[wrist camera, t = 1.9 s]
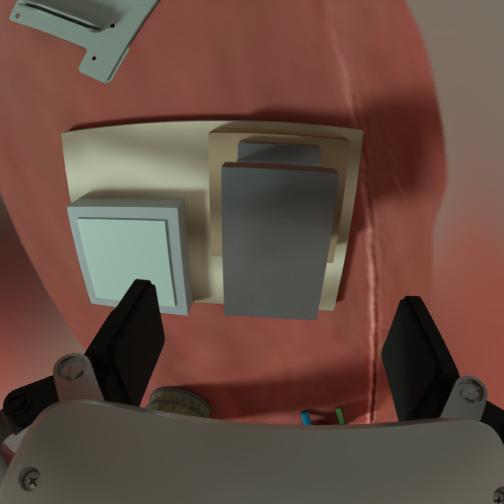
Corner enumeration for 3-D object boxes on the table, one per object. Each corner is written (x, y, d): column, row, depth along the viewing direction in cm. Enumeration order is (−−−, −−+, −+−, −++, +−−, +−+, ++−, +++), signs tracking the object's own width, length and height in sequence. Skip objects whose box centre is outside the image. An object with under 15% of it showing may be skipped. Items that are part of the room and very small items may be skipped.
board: (67, 130, 23) (61, 132, 22) (360, 129, 21) (363, 131, 20) (96, 284, 30) (91, 290, 30) (332, 303, 29) (333, 310, 28)
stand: (215, 127, 21) (208, 132, 19) (342, 135, 21) (350, 140, 19) (217, 240, 26) (211, 255, 23) (328, 247, 25) (333, 263, 23)
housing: (239, 140, 19) (221, 167, 13) (319, 145, 19) (339, 174, 13) (238, 251, 23) (224, 314, 17) (307, 255, 23) (316, 320, 17)
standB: (78, 198, 25) (65, 207, 23) (184, 198, 24) (176, 209, 22) (99, 291, 29) (90, 304, 28) (192, 301, 29) (187, 316, 27)
